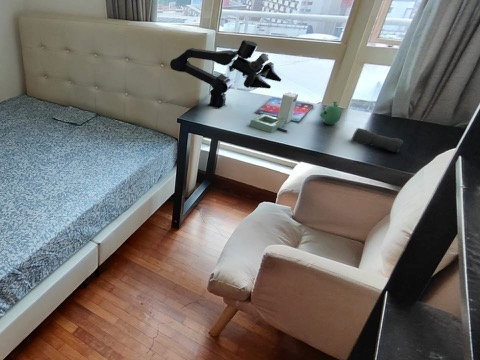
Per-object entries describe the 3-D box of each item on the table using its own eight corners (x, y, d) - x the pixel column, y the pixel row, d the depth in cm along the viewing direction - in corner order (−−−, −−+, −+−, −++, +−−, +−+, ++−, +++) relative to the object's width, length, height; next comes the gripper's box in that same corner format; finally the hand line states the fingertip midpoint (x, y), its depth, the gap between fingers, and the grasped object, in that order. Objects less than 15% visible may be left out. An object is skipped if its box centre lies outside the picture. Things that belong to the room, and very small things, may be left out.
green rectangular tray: (249, 125, 164) (251, 119, 163) (261, 119, 169) (263, 113, 168) (280, 136, 155) (282, 129, 153) (292, 129, 160) (294, 122, 158)
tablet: (255, 113, 176) (255, 112, 175) (272, 98, 191) (273, 96, 191) (299, 123, 165) (299, 121, 164) (313, 106, 180) (314, 104, 180)
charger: (276, 120, 168) (282, 94, 161) (281, 117, 170) (288, 91, 163) (286, 123, 165) (293, 97, 158) (291, 120, 167) (298, 94, 160)
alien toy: (317, 119, 167) (324, 98, 162) (337, 122, 164) (344, 100, 159) (317, 125, 162) (324, 103, 157) (337, 128, 159) (345, 106, 154)
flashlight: (400, 150, 141) (406, 137, 138) (396, 155, 138) (402, 142, 135) (354, 138, 150) (359, 126, 148) (349, 142, 148) (354, 130, 145)
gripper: (241, 57, 159) (274, 75, 152) (264, 45, 168) (295, 61, 161) (231, 79, 167) (261, 97, 160) (253, 66, 176) (282, 82, 169)
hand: (275, 83), depth 162 cm, fingers open, 9 cm apart
